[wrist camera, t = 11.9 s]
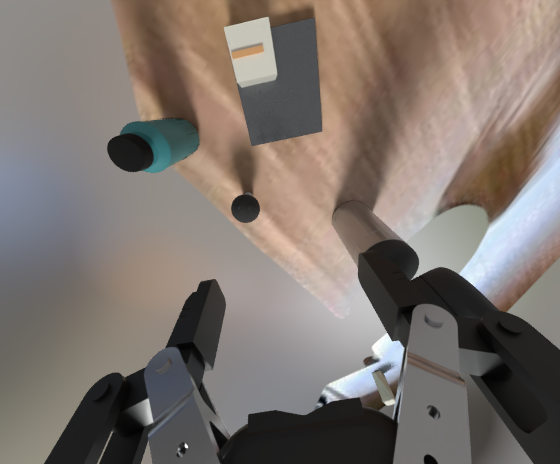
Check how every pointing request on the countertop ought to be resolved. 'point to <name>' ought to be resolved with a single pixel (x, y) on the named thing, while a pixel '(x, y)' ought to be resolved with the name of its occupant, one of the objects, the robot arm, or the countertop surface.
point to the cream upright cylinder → (383, 388)
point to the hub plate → (286, 88)
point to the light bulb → (245, 208)
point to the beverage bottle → (153, 144)
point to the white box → (252, 52)
